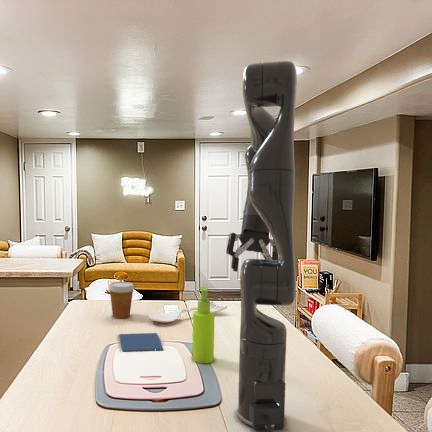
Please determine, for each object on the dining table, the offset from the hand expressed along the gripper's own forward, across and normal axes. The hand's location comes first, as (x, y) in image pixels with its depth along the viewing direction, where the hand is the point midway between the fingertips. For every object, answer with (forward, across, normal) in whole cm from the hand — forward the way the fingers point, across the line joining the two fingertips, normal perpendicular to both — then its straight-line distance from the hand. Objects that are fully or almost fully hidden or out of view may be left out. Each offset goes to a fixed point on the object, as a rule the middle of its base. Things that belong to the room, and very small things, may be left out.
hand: (250, 273), depth 118 cm
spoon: (+20, -8, +43) cm, 48 cm away
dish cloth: (+26, -26, +18) cm, 41 cm away
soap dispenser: (+26, -9, +5) cm, 28 cm away
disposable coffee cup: (+23, -32, +45) cm, 60 cm away
